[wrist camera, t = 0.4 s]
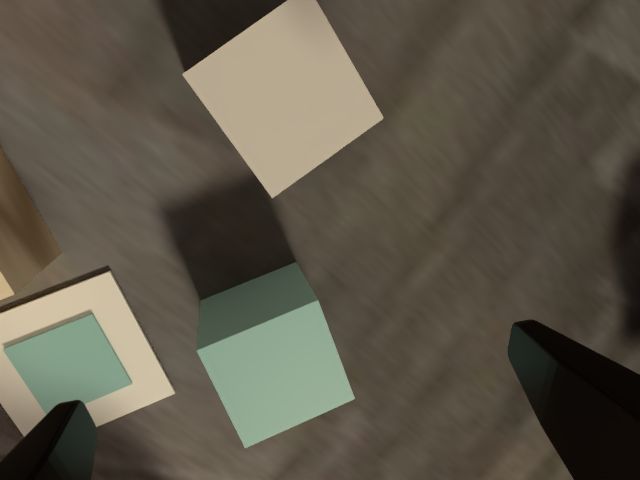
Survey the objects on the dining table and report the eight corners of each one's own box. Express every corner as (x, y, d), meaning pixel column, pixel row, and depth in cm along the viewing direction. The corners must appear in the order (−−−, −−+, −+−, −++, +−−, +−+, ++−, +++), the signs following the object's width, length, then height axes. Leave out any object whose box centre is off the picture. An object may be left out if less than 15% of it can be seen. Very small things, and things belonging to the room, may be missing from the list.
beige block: (345, 118, 21) (383, 118, 16) (258, 180, 21) (272, 198, 16) (285, 18, 19) (307, -14, 14) (190, 85, 19) (182, 74, 14)
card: (175, 391, 22) (174, 395, 22) (36, 450, 22) (33, 456, 21) (110, 270, 20) (108, 273, 20) (-47, 330, 19) (-52, 335, 19)
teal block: (327, 343, 24) (354, 398, 19) (239, 381, 23) (245, 448, 18) (295, 261, 22) (318, 300, 17) (200, 299, 22) (196, 350, 17)
